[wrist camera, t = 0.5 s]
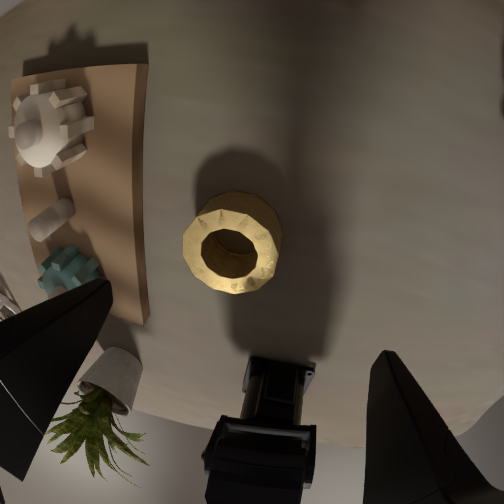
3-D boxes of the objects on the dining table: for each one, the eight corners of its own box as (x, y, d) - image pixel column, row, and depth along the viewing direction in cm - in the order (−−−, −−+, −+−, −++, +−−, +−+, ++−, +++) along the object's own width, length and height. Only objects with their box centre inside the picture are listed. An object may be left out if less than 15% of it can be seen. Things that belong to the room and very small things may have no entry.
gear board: (149, 315, 28) (125, 357, 24) (51, 281, 29) (23, 312, 24) (148, 63, 16) (97, 65, 12) (24, 76, 17) (-25, 88, 12)
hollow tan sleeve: (273, 275, 23) (267, 301, 21) (196, 257, 24) (182, 281, 21) (289, 202, 20) (286, 222, 17) (200, 184, 20) (184, 202, 18)
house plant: (140, 403, 40) (101, 492, 27) (67, 346, 36) (10, 434, 22) (196, 384, 33) (153, 508, 20) (102, 309, 29) (21, 433, 16)
